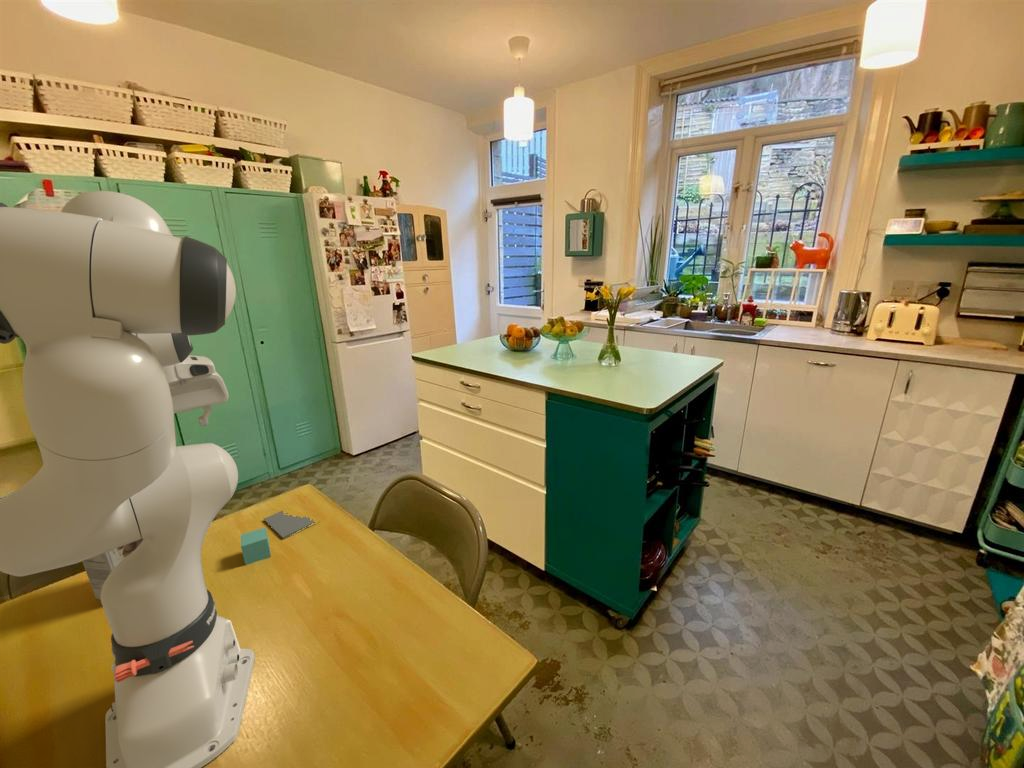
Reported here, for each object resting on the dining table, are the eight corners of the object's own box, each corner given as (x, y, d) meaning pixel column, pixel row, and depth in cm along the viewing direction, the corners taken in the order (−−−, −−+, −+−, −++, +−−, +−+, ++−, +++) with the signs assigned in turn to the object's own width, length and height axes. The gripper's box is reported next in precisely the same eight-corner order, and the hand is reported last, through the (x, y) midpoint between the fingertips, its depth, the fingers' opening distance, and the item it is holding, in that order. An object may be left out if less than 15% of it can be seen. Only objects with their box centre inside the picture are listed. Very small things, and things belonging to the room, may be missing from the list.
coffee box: (138, 568, 93) (118, 504, 88) (164, 570, 92) (144, 506, 88) (94, 600, 84) (68, 531, 80) (121, 603, 83) (97, 533, 79)
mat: (319, 522, 108) (319, 520, 108) (283, 539, 102) (282, 537, 102) (299, 505, 116) (298, 503, 116) (263, 520, 109) (263, 518, 109)
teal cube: (270, 557, 96) (266, 538, 95) (245, 565, 93) (240, 546, 92) (269, 545, 100) (265, 527, 99) (244, 553, 98) (240, 534, 96)
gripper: (87, 387, 74) (112, 454, 79) (223, 363, 88) (236, 422, 93) (86, 376, 78) (110, 441, 84) (215, 356, 92) (229, 413, 97)
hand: (177, 431), depth 88 cm, fingers open, 8 cm apart
